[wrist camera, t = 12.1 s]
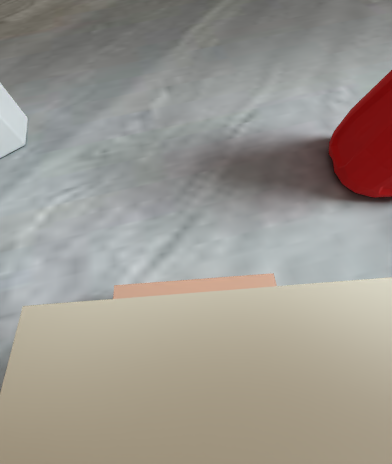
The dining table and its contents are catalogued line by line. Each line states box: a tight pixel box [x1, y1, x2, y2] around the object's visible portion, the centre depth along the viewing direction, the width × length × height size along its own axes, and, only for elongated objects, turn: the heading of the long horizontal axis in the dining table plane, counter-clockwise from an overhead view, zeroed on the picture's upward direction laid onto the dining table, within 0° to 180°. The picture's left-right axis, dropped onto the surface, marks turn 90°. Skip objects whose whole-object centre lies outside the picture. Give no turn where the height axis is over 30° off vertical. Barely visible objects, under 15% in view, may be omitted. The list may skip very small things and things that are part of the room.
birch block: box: [0, 277, 392, 464], centre depth 7 cm, size 5×5×12 cm
